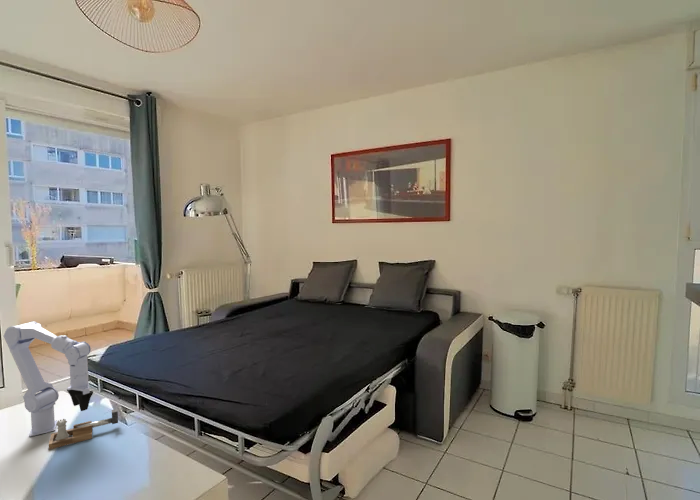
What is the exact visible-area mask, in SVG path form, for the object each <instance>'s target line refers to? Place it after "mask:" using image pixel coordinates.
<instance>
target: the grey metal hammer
mask: <svg viewBox="0 0 700 500" xmlns="http://www.w3.org/2000/svg"><path fill="white" fill-rule="evenodd" d="M118 423H119V409H118V408H114V409H111V417H110V418H107V419H102V420H96V421H92V423H88V424H84V425H80V426H77V428H79V427H83V426H88V425H91V428H92V429H93V428H94V429H95V428H98V427H101V426H105V425H110V424H112V425H115V424H118Z"/></svg>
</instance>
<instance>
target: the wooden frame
mask: <svg viewBox="0 0 700 500" xmlns="http://www.w3.org/2000/svg"><path fill="white" fill-rule="evenodd" d="M92 422H93V421H92V420H89V421H85V422H81V423H76V424H73V428H70V429H66V431H67V433H68V434H69V438H65V439H61V440H57V441H56V440H55V438H56V436H57V434H58V431H55V432H53V433H51V434H50V438H49V441H48V450H53V449H57V448H61V447H65V446H69V445H71V444H72V445H73V444H77V443H81V442H84V441H87V440H91V439H93V428H91V425H88V426H83V427H79V428H77V426H80V425H84V424H88V423H92Z"/></svg>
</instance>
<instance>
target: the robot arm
mask: <svg viewBox="0 0 700 500" xmlns="http://www.w3.org/2000/svg"><path fill="white" fill-rule="evenodd" d="M3 337H4V340H5V342H6V344H7V345H6V346H7V347H8V348H9V352H10V354H11V356H12V358H13V360H14V362H15V365H16V366H17V368H18V372H19V373H20V376H21V377H22V379H23V382H24V384H25V386H26V388H27V390H26V392H25V393H24V394H23V396H22V398H23V401H24V408H25V410H27V412H29V413H30V422H31V423H30V424H31V429H30V433H29V434H28V437H35V436H38V435H42V434H46V433H51V432H56V429H57V425H56V424H57V422H58V420H56V419H55V405H56V402H57V401H58V399H59V396H60V395H59V391H58V390H57V389H56V388H55V387H54V385H53V384H52V383H50V382H46V381H45V380H44V378H43V376H42V374H41V372H40V371H41V370H40V369H39V367H38V364H37V363H36V361H35V358H34V356H33V354H32V352H31V350H30V348H29V346H30V345H31V344H32V343H33V341H35V339H36V340H39V341H42V342H44V343H47V344H50V347H51V348H52V349H53V350H55V351H57V352H59V353H62V354H64V356H65V358H66V359H67V363H68V365H69V377H70V379H69V380H70V383H69V384H70V385H69V386H67V388H66V391H67V392H68V395H69V396H70V398H71V401H72V405H73V406H74V407H77V406H79V410H80V411H81V412H83V411H86V410H88V409H89V405H90V401H91V398H92V396H93V395H94V391H93V390H90V383H89V367H88V365H89V363H88V355H89V354H90V353H91V349H92V348H91V346H90V344H89V342H86V341H77V340H74V339H72V338H70V337H68V335H65V334H63V335H62V334H61V335H57V334H55V333H52V332H51V331H50V330H47V329H45V328H44V327H43V326H42V324H41V323H39V322H37V321H34V320H33V321H30V322H26V323H21V324H18V325H11V326H9V327H7V328H6V329H5V332H4V333H3Z"/></svg>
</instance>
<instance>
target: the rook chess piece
mask: <svg viewBox="0 0 700 500" xmlns="http://www.w3.org/2000/svg"><path fill="white" fill-rule="evenodd" d="M67 422H68V421H67V420H66V419H65V418H63V419H59V420H57V424H56V429H57V432H58V434H57V436H56V438H55V440H54V441H57V440H61V439H65V438H69V437H70V436H69V434H68V433H67V431H66V430H67V425H66V424H67Z"/></svg>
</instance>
